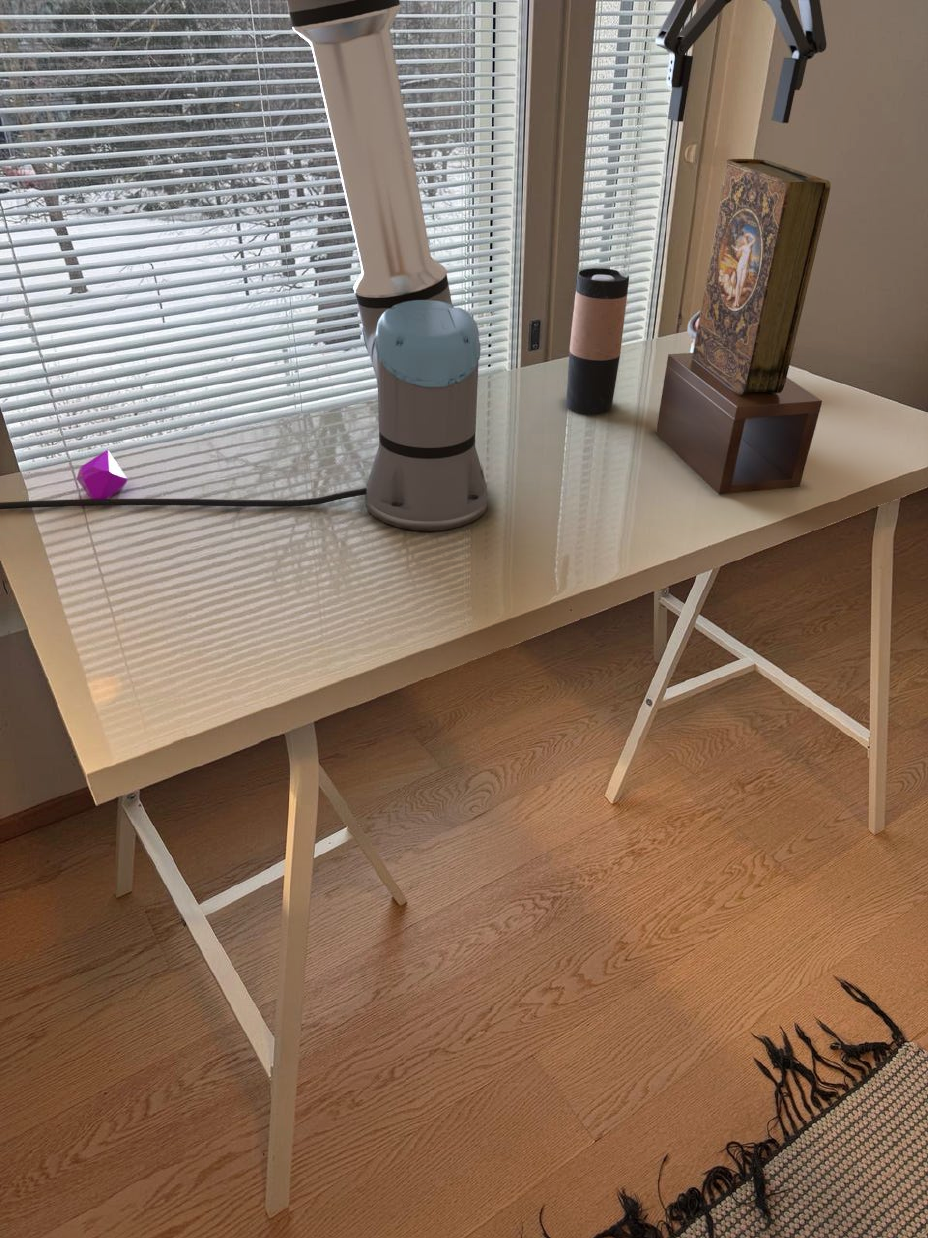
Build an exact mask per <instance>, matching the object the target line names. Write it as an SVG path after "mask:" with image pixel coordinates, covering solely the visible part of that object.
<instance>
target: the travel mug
mask: <svg viewBox="0 0 928 1238" xmlns="http://www.w3.org/2000/svg"><path fill="white" fill-rule="evenodd" d="M629 284H630V275H629V274H627V276H623V275H621V273H620V271H618V270H616V269H612V268H603V267H594V268H591V267H590V268H585V269H581V270H579V271H578V273H577V277H576V287H575V296H574V303H573V304H574V305H573V315H572V324H571V334H570V342H569V354H568V367H567V368H568V369H567V381H566V400H565V401H566V402H565V403H566V404H565V405H566V408H567V409H568V410H570V411H572V412H574V413H577V414H581V415H586V416H597V415H598V416H599V415H604V414H606V413H609V412H610V411H611V410H612V407H613V402H614V395H615V389H616V383H617V376H618V372H619V371H618V370H619V364H620V358H621V350H622V344H623V343H622V342H623V333H624V325H625V317H626V308H627V300H628V291H629Z"/></svg>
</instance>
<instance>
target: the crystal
mask: <svg viewBox="0 0 928 1238" xmlns="http://www.w3.org/2000/svg"><path fill="white" fill-rule="evenodd" d="M76 480H77V482H78V483H79V484H80V486H81V488H82V489H83V490H84V492H85V493H86V494H87V496H88V497H89V499H111V497H113V496H115V495H116V494H117V493H119V492H120V491H122V490H123V489H124V487H125V486H126V484H127V482H128V478H127V476H126V475H125V473H124V472H123V470H122V469H121V467H120V466H119V463H118V462H117V461H116V459H115V458H114V456H113V455H112V454H111V452H110V451H109V449H106V450H104V451H103V452H102V453H100V454H99V455H97V456H96V457H94V458H93V459H91V460H89V461H88V462H86V463H84V464H83V465H81V467H80V468H79V469H78V473H77V476H76ZM95 507H98V506H95Z"/></svg>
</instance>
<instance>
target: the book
mask: <svg viewBox="0 0 928 1238" xmlns="http://www.w3.org/2000/svg"><path fill="white" fill-rule="evenodd" d="M831 185H832V184H831V182H830V180H828V179H826V178H825V179H824V178H822V177H819V176H816V175H813V174H810V173H808V172H807V173H806V172H803V171H801V170H798V169H795V168H791V167H788V166H785V165H783V164H780V163H776V162H773V161H771V160H766V159H760V158H759V159H758V158H730V159H727V160H726V162H725V168H724V175H723V179H722V185H721V192H720V196H719V203H718V209H717V214H716V219H715V220H716V221H715V225H714V232H713V236H712V243H711V249H710V254H709V259H708V260H709V261H708V264H707V265H708V266H707V271H706V277H705V283H704V287H703V295H702V299H701V300H702V301H701V306H700V310H701V311H700V310H699V311H700V317H699V322H698V328H697V334H696V340H695V345H694V351H693V357H692V359H693V360H694V361H695V362H697V363H698V364H699V365H700V366H702V367H703V368H704V369H706V370H707V371H708V372H709V373H711V374H712V375H713V376H714V377H716V378H717V379H718V380H719V381H721V382H722V383H723V384H725V385H726V386H727V387H728V388H730V389H731V390H733V391H734V392H736V393H737V394H739V395H745V394H746V393H750V392H771V393H781V392H782V390H783V388H784V385H785V382H786V378H788V373H789V369H790V365H791V360H792V356H793V352H794V347H795V342H796V339H797V335H798V330H799V326H800V322H801V317H802V313H803V309H804V305H805V300H806V296H807V292H808V288H809V284H810V283H809V282H810V278H811V275H812V270H813V266H814V261H815V257H816V252H817V250H818V249H817V248H818V244H819V240H820V235H821V231H822V227H823V223H824V219H825V215H826V214H825V213H826V210H827V205H828V201H829V198H830V197H829V196H830V192H831V187H832V186H831Z"/></svg>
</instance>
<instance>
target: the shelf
mask: <svg viewBox="0 0 928 1238" xmlns="http://www.w3.org/2000/svg"><path fill="white" fill-rule="evenodd" d="M692 357H693V353H690V352H683V353H682V352H681V353H668V354H667V360H666V367H665V373H664V380H663V386H662V391H661V398H660V403H659V404H660V405H659V411H658V417H657V423H656V428H655V429H656V430H655V435H656V436H657V437H658V438H660V439H661V440H662V442H664V443H665V444H666V445H667V446H668V447H669V448H670V449H671V450H672V451H673V452H674V453H675V454H676V455H677V456H678V457H679V458H680V459H681V460H682V461H683V462H685V464H686V465H687V466H689V467H690V468H691V470H693V471H694V472H695V473H696V474H697V475H698V476H699V477H700V478H701V479H702V480H703V481H704V482H705V483H706V484H708V485H709V486H710V487H711V489H713V490H714V491H715V492H716V494H718V495H724V494H725V495H726V494H735V493H745V492H746V493H747V492H757V491H766V490H768V491H769V490H777V489H778V490H779V489H787V488H797V487H798V488H799V487H801V485H802V484H801V483H802V480H803V476H804V473H805V468H806V465H807V460H808V457H809V454H810V449H811V446H812V442H813V438H814V434H815V431H816V426H817V423H818V419H819V415H820V412H821V407H822V405H823V400H822V399H820V398H819V397H817V396H816V395H815V394H813V393H812V392H810V391H809V390H807V389H805V388H804V387H802V386H801V385H799V384H798V383H797V382H795V381H793V380H792V379H791V378H789V377H787V378H786V382H785V385H784V388H783V390H782V392H781V393H771V392H750V393H746V394H745V395H739V394H737V393H736V392H734V391H733V390H731V389H730V388H728V387H727V386H726V385H725V384H723V383H722V382H721V381H719V380H718V379H717V378H716V377H714V376H713V375H712V374H711V373H709V372H708V371H707V370H706V369H704V368H703V367H702V366H700V365H699V364H698V363H697V362H695V361H694V360H693V359H692Z"/></svg>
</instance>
